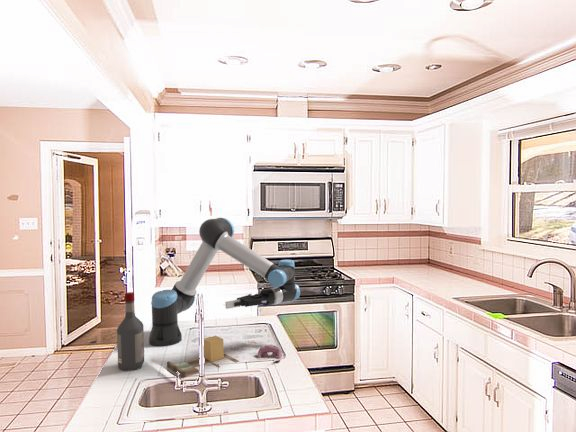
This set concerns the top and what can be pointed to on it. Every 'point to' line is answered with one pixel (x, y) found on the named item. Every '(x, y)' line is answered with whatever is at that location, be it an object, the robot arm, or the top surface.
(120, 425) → the top surface
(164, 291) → the robot arm
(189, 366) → the trap box
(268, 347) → the pink arch block
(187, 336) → the top surface
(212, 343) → the ochre block
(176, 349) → the top surface
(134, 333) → the liquor
